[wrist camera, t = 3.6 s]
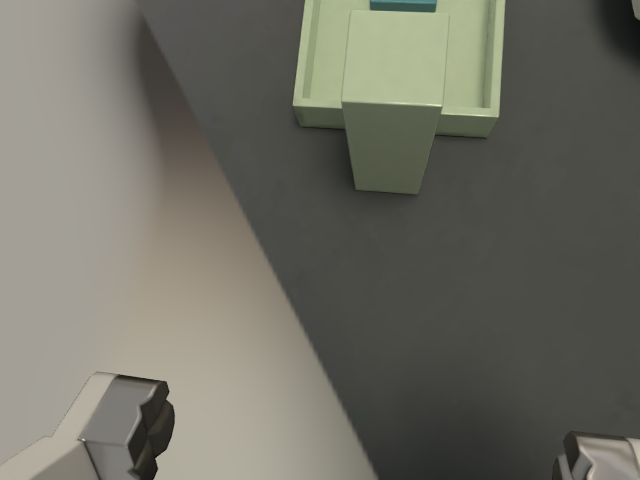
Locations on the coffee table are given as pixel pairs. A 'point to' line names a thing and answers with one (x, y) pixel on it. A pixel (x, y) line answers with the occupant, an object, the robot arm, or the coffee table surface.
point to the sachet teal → (404, 5)
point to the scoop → (399, 81)
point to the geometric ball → (636, 8)
